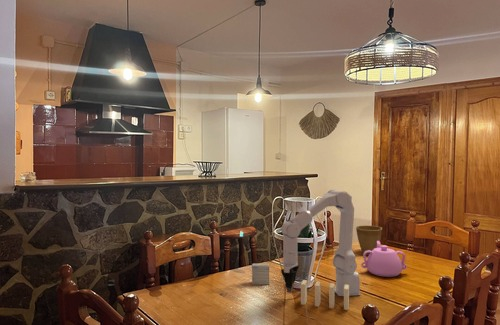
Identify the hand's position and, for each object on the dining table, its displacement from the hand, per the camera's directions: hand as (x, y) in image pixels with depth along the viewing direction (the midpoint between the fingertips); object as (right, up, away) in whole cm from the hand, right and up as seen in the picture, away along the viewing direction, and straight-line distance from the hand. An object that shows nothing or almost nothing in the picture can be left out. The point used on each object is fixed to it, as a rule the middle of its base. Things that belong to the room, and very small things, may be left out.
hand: (290, 285), depth 146 cm
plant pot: (+55, -6, +70) cm, 90 cm away
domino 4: (+16, -6, -5) cm, 18 cm away
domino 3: (+10, -6, -3) cm, 13 cm away
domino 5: (+21, -6, -7) cm, 23 cm away
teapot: (+51, -6, +37) cm, 63 cm away
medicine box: (-12, -6, +20) cm, 24 cm away
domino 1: (0, -2, 0) cm, 2 cm away
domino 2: (+5, -6, -2) cm, 8 cm away
